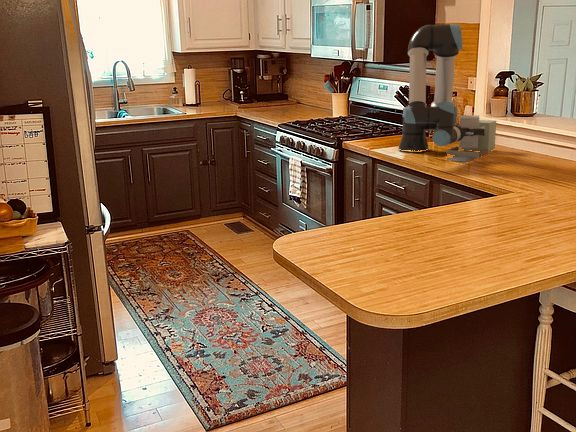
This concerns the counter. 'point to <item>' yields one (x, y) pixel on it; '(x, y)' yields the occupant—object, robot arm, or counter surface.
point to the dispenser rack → (479, 141)
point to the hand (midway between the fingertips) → (472, 128)
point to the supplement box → (469, 123)
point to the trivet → (461, 158)
